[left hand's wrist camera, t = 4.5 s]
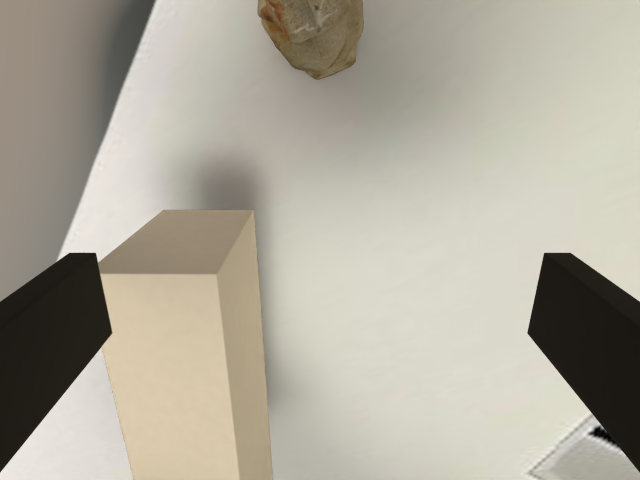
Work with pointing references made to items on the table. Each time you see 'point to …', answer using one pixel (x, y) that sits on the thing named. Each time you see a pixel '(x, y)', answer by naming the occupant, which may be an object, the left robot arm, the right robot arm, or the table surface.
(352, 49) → the sculpture
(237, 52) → the table surface
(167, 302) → the box
